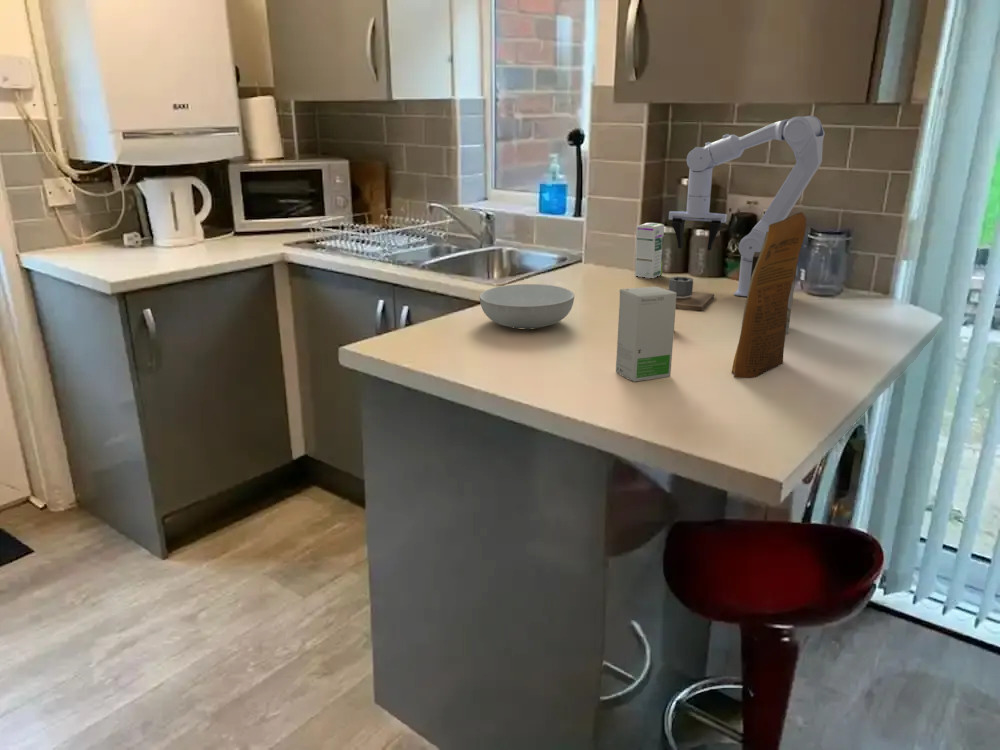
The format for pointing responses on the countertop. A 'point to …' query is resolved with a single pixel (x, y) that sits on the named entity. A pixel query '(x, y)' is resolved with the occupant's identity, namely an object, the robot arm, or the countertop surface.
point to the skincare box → (645, 333)
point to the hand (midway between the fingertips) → (694, 248)
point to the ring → (681, 285)
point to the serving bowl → (527, 305)
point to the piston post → (682, 296)
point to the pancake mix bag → (769, 299)
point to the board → (695, 301)
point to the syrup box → (649, 250)
